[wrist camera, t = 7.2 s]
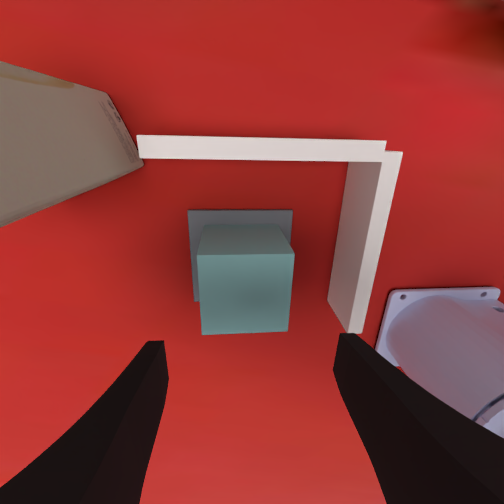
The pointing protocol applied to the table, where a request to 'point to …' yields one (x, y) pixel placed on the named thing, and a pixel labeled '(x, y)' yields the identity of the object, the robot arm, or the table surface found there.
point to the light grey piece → (353, 205)
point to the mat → (231, 218)
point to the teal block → (244, 279)
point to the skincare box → (56, 142)
